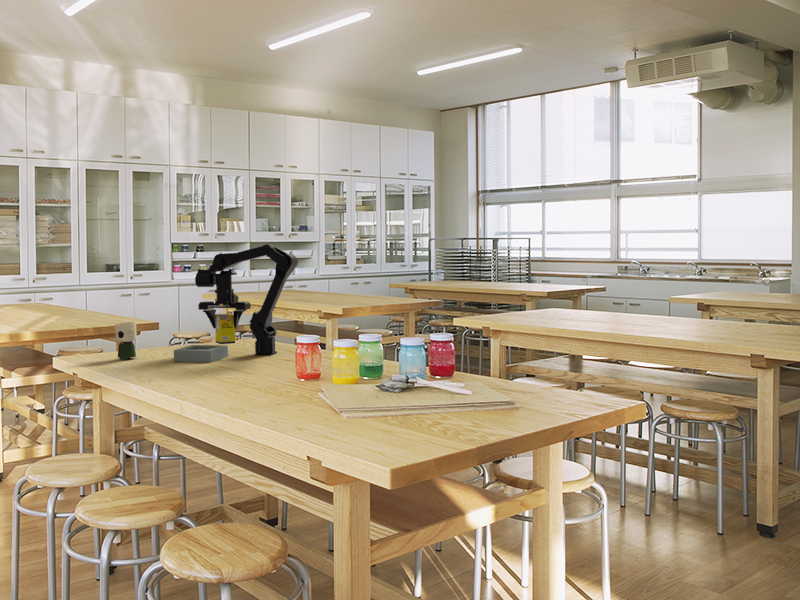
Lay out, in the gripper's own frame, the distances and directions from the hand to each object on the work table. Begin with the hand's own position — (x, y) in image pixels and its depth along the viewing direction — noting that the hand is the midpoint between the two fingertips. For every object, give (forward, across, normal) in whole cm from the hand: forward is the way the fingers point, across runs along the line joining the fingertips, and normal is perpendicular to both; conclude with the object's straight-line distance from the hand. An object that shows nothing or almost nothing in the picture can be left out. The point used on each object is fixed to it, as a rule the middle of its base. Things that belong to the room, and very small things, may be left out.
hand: (225, 328), depth 268 cm
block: (+9, +3, +14) cm, 17 cm away
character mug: (+10, +30, +18) cm, 36 cm away
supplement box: (+6, 0, 0) cm, 6 cm away
